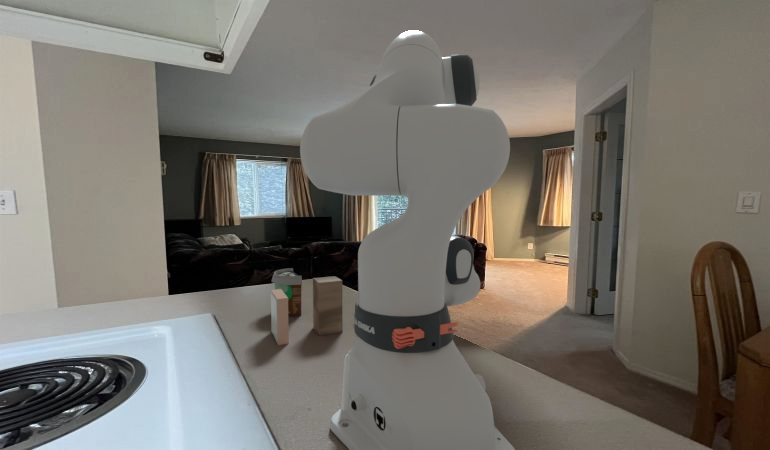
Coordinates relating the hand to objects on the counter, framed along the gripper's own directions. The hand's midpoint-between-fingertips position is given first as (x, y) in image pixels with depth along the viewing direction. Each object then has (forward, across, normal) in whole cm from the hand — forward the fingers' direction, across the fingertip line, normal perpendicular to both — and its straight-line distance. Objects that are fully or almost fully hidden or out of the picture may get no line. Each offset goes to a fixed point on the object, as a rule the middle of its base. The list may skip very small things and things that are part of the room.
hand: (368, 297), depth 79 cm
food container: (+15, -17, +6) cm, 24 cm away
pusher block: (+9, 0, +6) cm, 11 cm away
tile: (+19, 0, +6) cm, 20 cm away
